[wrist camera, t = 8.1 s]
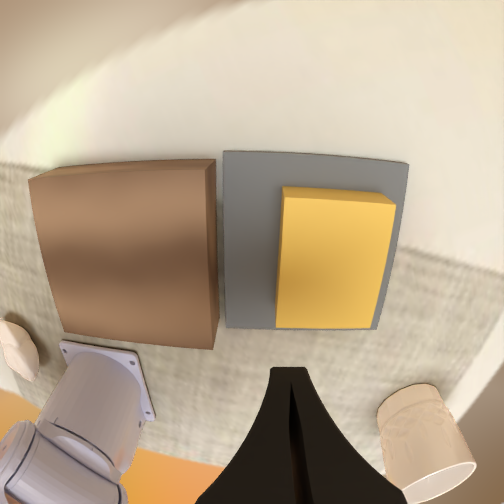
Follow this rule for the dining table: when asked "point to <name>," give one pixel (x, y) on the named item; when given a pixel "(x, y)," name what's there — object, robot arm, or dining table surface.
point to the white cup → (422, 444)
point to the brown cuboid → (132, 249)
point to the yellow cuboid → (331, 257)
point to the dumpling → (19, 350)
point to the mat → (268, 221)
